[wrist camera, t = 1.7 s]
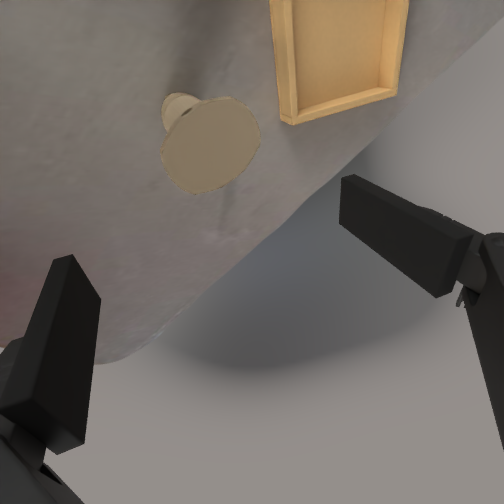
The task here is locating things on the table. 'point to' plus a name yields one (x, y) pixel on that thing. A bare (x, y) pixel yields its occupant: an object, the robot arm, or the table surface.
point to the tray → (335, 54)
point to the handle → (207, 141)
